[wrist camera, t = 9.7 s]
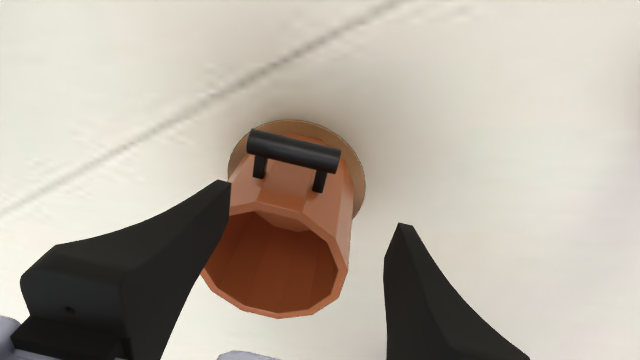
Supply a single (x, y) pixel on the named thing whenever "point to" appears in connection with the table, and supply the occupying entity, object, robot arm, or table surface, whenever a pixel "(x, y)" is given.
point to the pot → (284, 228)
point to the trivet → (317, 133)
